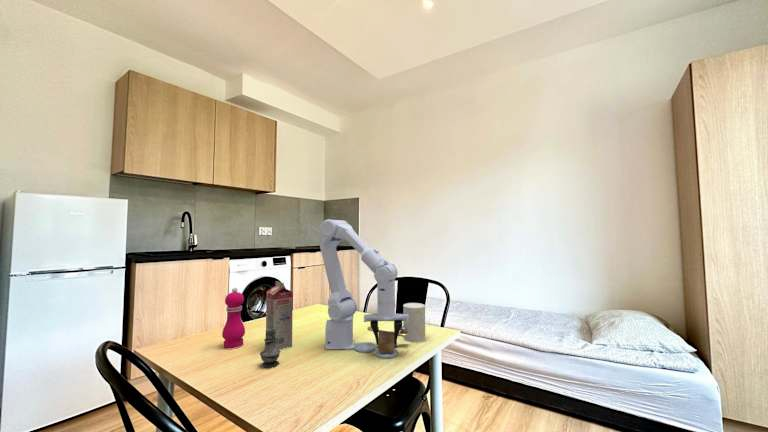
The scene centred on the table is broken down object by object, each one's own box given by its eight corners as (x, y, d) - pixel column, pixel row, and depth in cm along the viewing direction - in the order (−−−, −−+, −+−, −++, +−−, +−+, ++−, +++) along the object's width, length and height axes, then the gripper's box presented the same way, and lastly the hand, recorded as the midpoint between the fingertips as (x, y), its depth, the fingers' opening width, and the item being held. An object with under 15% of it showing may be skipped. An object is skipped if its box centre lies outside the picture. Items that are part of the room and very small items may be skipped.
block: (378, 352, 98) (378, 336, 99) (378, 346, 103) (378, 331, 104) (394, 352, 98) (394, 336, 99) (393, 346, 103) (393, 331, 104)
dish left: (353, 352, 102) (353, 350, 102) (354, 344, 110) (354, 342, 110) (376, 352, 102) (376, 350, 102) (376, 344, 110) (376, 341, 110)
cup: (418, 343, 111) (417, 309, 111) (399, 338, 115) (399, 305, 116) (429, 337, 117) (428, 304, 118) (410, 333, 122) (410, 301, 123)
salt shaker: (260, 370, 89) (261, 327, 90) (258, 362, 94) (259, 322, 95) (281, 366, 92) (282, 325, 92) (278, 359, 97) (279, 320, 98)
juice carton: (273, 351, 103) (274, 284, 104) (265, 345, 108) (266, 282, 109) (292, 346, 108) (292, 282, 109) (284, 341, 113) (284, 280, 114)
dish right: (374, 358, 97) (374, 356, 97) (374, 349, 105) (374, 347, 105) (398, 358, 97) (398, 355, 97) (397, 349, 105) (397, 346, 105)
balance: (367, 348, 106) (367, 329, 106) (367, 344, 110) (367, 325, 110) (410, 347, 106) (409, 328, 107) (408, 343, 110) (408, 325, 111)
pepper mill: (216, 347, 107) (218, 288, 108) (234, 340, 113) (235, 285, 114) (232, 350, 104) (234, 290, 105) (249, 343, 111) (250, 286, 112)
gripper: (363, 304, 98) (363, 348, 97) (409, 304, 98) (409, 348, 97) (364, 299, 105) (364, 340, 104) (407, 299, 105) (407, 340, 104)
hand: (386, 343), depth 101 cm, fingers closed on block, 5 cm apart
